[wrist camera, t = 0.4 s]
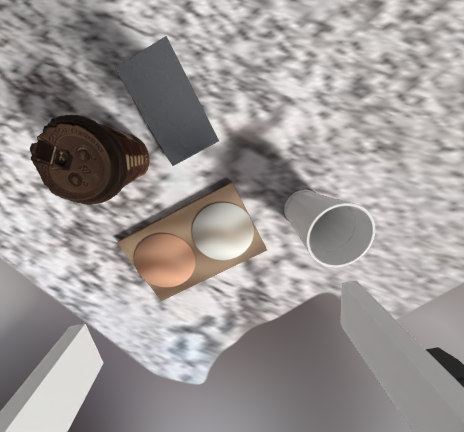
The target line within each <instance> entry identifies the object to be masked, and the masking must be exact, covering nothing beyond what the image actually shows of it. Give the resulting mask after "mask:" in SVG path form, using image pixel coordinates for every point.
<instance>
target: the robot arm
mask: <svg viewBox="0 0 464 432" xmlns="http://www.w3.org/2000/svg"><path fill="white" fill-rule="evenodd" d="M341 326H342V328H343V329H344V331H345V332H346V334H347V335H348V337H349V338H350V340H351V341H352V343H353V344H354V346H355V347H356V349H357V350H358V352H359V353H360V355H361V356H362V358H363V359H364V361H365V362H366V364H367V365H368V367H369V368H370V370H371V371H372V372H373V374H374V375H375V377H376V378H377V380H378V381H379V383H380V384H381V386H382V387H383V389H384V390H385V392H386V393H387V395H388V396H389V398H390V399H391V401H392V402H393V404H394V405H395V407H396V408H397V410H398V411H399V413H400V414H401V416H402V417H403V419H404V420H405V422H406V423H407V425H408V426H409V428H410V429H411V430H412V432H464V365H463V364H462V363H461V362H460V361H459V360H458V359H456V358H454V357H453V356H451V355H450V354H448V353H446V352H445V351H443V350H441V349H440V348H432V349H424V348H423V347H422V346H421V345H420V344H419V343H418V342H417V341H416V340H415V339H414V338H413V337H412V336H411V335H410V334H409V333H408V332H407V331H406V330H405V329H404V328H403V327H402V326H401V325H400V324H399V323H398V322H397V321H396V320H395V319H394V318H393V317H392V316H391V315H390V314H389V313H388V312H387V311H386V310H385V309H384V308H383V307H382V306H381V305H380V304H379V303H378V302H377V301H376V300H375V299H374V298H373V297H372V296H371V295H370V294H369V293H368V292H367V291H366V290H365V289H364V288H363V287H362V286H361V285H360V284H359V283H358V282H357V281H352V282H346V283H342V294H341ZM102 365H103V361H102V359H101V357H100V355H99V352H98V350H97V348H96V346H95V344H94V342H93V340H92V338H91V335H90V333H89V331H88V329H87V326H86V324H81V325H74V326H70V327H69V328H68V329H67V331H66V332H65V333H64V334H63V335H62V337H61V338H60V339H59V340H58V342H57V343H56V344H55V345H54V346H53V348H52V349H51V350H50V351H49V353H48V354H47V355H46V356H45V357H44V359H43V360H42V361H41V362H40V364H39V365H38V366H37V367H36V369H35V370H34V371H33V372H32V374H31V375H30V376H29V377H28V378H27V380H26V381H25V382H24V383H23V384H22V386H21V387H20V388H19V389H18V391H17V392H16V393H15V394H14V395H13V397H12V398H11V399H10V400H9V402H8V403H7V404H6V405H5V406H4V408H3V409H2V410H1V411H0V432H67V431H68V429H69V427H70V426H71V424H72V422H73V420H74V418H75V416H76V414H77V412H78V410H79V408H80V407H81V405H82V403H83V401H84V399H85V397H86V395H87V393H88V391H89V390H90V388H91V386H92V384H93V382H94V380H95V378H96V376H97V374H98V372H99V371H100V368H101V367H102Z"/></svg>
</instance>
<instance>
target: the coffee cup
mask: <svg viewBox="0 0 464 432" xmlns="http://www.w3.org/2000/svg"><path fill="white" fill-rule="evenodd" d="M37 140H38V142H37V143H34V144H33V143H32V144H31V147H30V152H31V154H32V156H31V160H32V161H33V164H34V165H35V167H36V169H37V171H38V172H39V174H40V176H41V179H42V181H43V183H44V185H46V186H47V187H48V188H49V190H50V191H51V193H53V194H55V195H56V196H59V197H61V198H64V199H67V200H70V201H73V202H77V203H82V204H87V205H91V204H98V203H103V202H105V201H107V200H110V199H111V198H112V197H114V196H116V195H117V194H118V193H119V192H120V191H121V189H122V188H123V187H125V186H126V185H128V184H129V183H131V182H133V181H134V180H135V179H137V178H138V177H140V176H142V175H144V174H145V173H146V171H147V170H148V167H149V153H148V150H147V148H146V146H145V144H144V143H143V142H142V141H141V140H139V139H138V138H136V137H134V136H132V135H129V134H126V133H123V132H120V131H118V130H115V129H111V128H109V127H107V126H104V125H100V124H98V123H96V122H95V121H93V120H91V119H88V118H85V117H83V116H79V115H65V116H59V117H57V118H53V119H51V122H50V123H48V125H47V126H44V129H43V133H41V134H40V135H39V136H37Z"/></svg>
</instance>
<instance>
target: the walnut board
mask: <svg viewBox="0 0 464 432" xmlns="http://www.w3.org/2000/svg"><path fill="white" fill-rule="evenodd" d="M117 244H118V245H119V246H120V248H121V249H122V250H123V251H124V253H125V254H126V255H127V257H128V258H129V259H130V261H131V262H132V263H133V265H134V266H135V267H136V269H137V271H138V273H139V274H140V275H141V276H142V278H144V279H145V280H146V282H147V283H148V284H149V285H150V287H151V288H152V289H153V291H154V292H155V293H156V295H157V296H158V297H159V299H160V300H161V301H163V300H165V299H167V298H169V297H171V296H173V295H175V294H177V293H179V292H181V291H183V290H185V289H188V288H190V287H192V286H194V285H196V284H198V283H200V282H202V281H204V280H206V279H208V278H210V277H212V276H215V275H217V274H219V273H221V272H223V271H225V270H227V269H229V268H231V267H233V266H235V265H237V264H240V263H242V262H244V261H246V260H248V259H250V258H252V257H254V256H256V255H258V254H260V253H262V252H264V251H267V249H266V247H265V245H264V243H263V241H262V239H261V237H260V235H259V233H258V231H257V229H256V227H255V225H254V224H253V222H252V220H251V218H250V216H249V214H248V212H247V210H246V208H245V206H244V204H243V202H242V200H241V198H240V196H239V194H238V192H237V191H236V189H235V187H234V185H233V183H232V182H230V183H228V184H226V185H224V186H222V187H220V188H219V189H217V190H215V191H213V192H211V193H209V194H207V195H205V196H203V197H201V198H199V199H198V200H196V201H194V202H192V203H190V204H188V205H186V206H184V207H182V208H180V209H178V210H177V211H175V212H173V213H171V214H169V215H167V216H165V217H163V218H161V219H159V220H157V221H155V222H154V223H152V224H150V225H148V226H146V227H144V228H142V229H140V230H138V231H136V232H134V233H133V234H131V235H129V236H127V237H125V238H123V239H121V240H120V241H119V242H118V243H117Z"/></svg>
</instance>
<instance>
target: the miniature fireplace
mask: <svg viewBox="0 0 464 432" xmlns="http://www.w3.org/2000/svg"><path fill="white" fill-rule="evenodd" d="M115 70H116V71H117V73H118V75H119V76H120V78H121V80H122V81H123V83H124V85H125V86H126V88H127V90H128V91H129V93H130V95H131V97H132V98H133V100H134V102H135V103H136V105H137V107H138V108H139V110H140V112H141V114H142V116H143V117H144V119H145V121H146V122H147V124H148V126H149V128H150V129H151V131H152V133H153V134H154V136H155V138H156V139H157V141H158V143H159V144H160V146H161V148H162V149H163V151H164V153H165V155H166V156H167V158H168V160H169V161H170V162H171V164H172V166H174V165H176V164H178V163H180V162H182V161H184V160H185V159H187V158H189V157H191V156H193V155H194V154H196V153H198V152H200V151H202V150H204V149H205V148H207V147H209V146H211V145H213V144H215V143H216V142H218V141H219V140H218V138H217V136H216V134H215V132H214V130H213V128H212V126H211V124H210V122H209V120H208V118H207V116H206V114H205V112H204V110H203V108H202V106H201V104H200V102H199V100H198V98H197V96H196V94H195V92H194V90H193V88H192V86H191V84H190V82H189V80H188V78H187V76H186V74H185V72H184V70H183V68H182V66H181V64H180V62H179V60H178V58H177V56H176V54H175V52H174V50H173V48H172V46H171V44H170V42H169V40H168V39H167V37H166V36H165V37H164V38H162V39H161V40H159V41H157V42H156V43H154V44H152V45H151V46H149V47H148V48H146V49H144V50H143V51H141V52H139V53H138V54H136V55H135V56H133V57H131V58H130V59H128V60H127V61H125V62H123V63H122V64H120V65H118V66H117V67H115Z"/></svg>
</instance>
